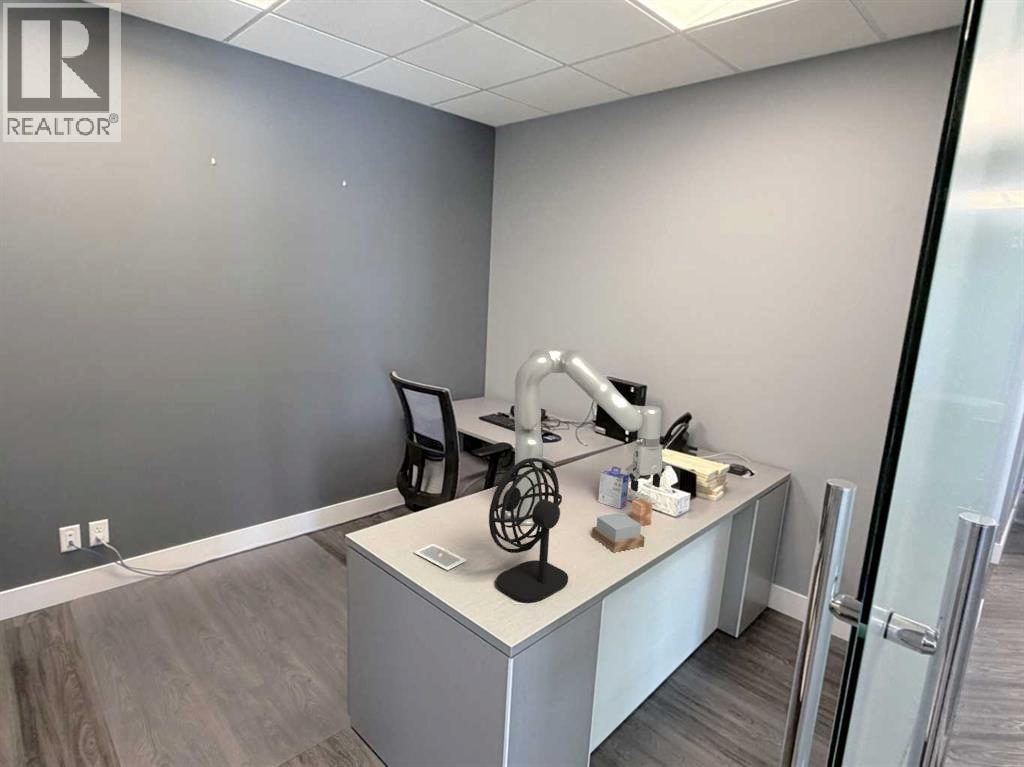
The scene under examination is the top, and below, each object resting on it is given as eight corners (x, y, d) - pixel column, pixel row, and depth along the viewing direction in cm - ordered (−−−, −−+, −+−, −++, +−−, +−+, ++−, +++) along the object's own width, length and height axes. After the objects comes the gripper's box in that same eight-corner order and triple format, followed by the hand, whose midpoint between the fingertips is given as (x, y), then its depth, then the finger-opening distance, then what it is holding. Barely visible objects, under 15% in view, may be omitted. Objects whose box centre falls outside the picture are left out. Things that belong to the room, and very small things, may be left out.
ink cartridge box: (627, 505, 208) (630, 469, 205) (620, 509, 204) (623, 473, 201) (604, 498, 214) (607, 463, 211) (597, 502, 209) (600, 466, 207)
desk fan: (539, 554, 167) (546, 445, 160) (585, 577, 154) (593, 460, 148) (473, 585, 148) (477, 463, 142) (518, 614, 136) (524, 482, 129)
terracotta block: (639, 527, 189) (641, 505, 188) (630, 521, 194) (632, 500, 192) (650, 524, 191) (652, 503, 190) (641, 519, 196) (643, 498, 194)
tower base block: (613, 555, 169) (614, 543, 168) (591, 538, 180) (592, 527, 179) (643, 548, 174) (644, 536, 174) (620, 532, 185) (621, 521, 184)
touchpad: (447, 573, 154) (447, 566, 154) (413, 555, 164) (413, 548, 163) (466, 563, 160) (467, 557, 160) (433, 546, 170) (433, 540, 169)
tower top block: (615, 541, 170) (616, 529, 169) (596, 528, 178) (597, 517, 178) (639, 536, 174) (641, 524, 173) (620, 523, 183) (621, 512, 182)
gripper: (635, 447, 180) (632, 495, 183) (675, 441, 188) (671, 488, 191) (621, 441, 187) (618, 488, 190) (660, 436, 194) (657, 481, 197)
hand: (645, 488), depth 190 cm, fingers open, 9 cm apart
